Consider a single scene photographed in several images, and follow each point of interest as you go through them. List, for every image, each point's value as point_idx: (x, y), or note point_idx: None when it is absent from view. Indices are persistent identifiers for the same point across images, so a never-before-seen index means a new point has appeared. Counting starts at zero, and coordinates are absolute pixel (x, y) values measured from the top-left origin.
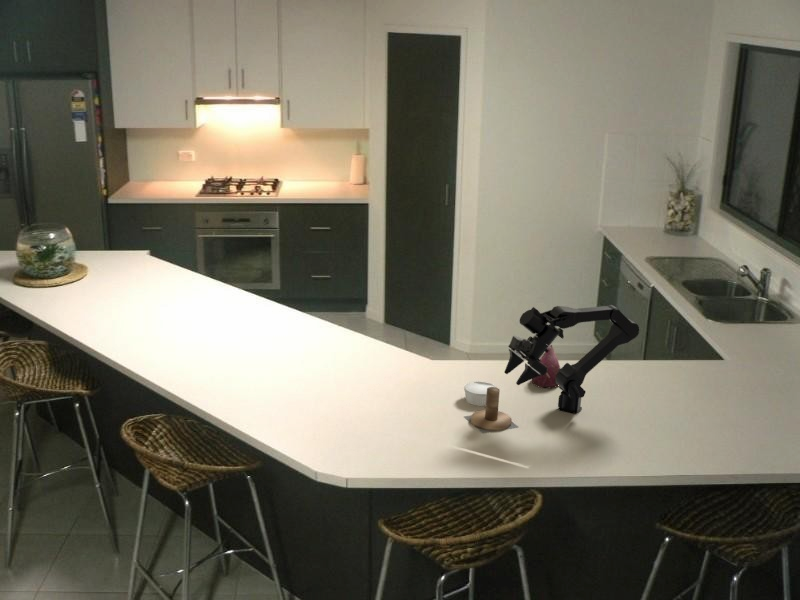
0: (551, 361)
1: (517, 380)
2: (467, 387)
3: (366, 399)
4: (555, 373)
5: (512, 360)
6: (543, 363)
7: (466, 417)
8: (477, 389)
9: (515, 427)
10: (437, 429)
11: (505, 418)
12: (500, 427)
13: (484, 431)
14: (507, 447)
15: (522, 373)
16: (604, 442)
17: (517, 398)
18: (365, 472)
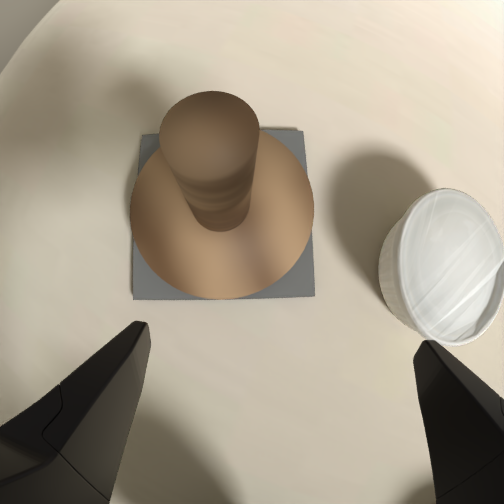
0: None
1: (134, 339)
2: (468, 206)
3: (443, 19)
4: None
5: (492, 447)
6: None
7: (292, 137)
8: (447, 237)
9: (135, 283)
10: (244, 39)
11: (196, 266)
12: (132, 204)
13: (152, 145)
14: (40, 182)
15: (77, 407)
16: None
17: (401, 428)
18: None
